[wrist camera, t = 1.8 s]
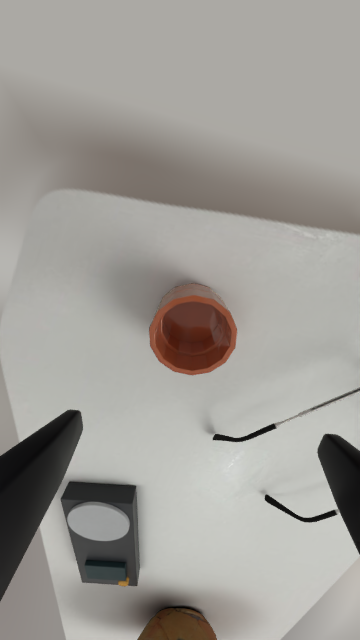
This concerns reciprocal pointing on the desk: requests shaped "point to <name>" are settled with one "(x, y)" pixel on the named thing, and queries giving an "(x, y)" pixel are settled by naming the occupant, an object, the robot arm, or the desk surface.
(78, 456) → the desk surface
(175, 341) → the terracotta cup
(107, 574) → the scale
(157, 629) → the bowl
